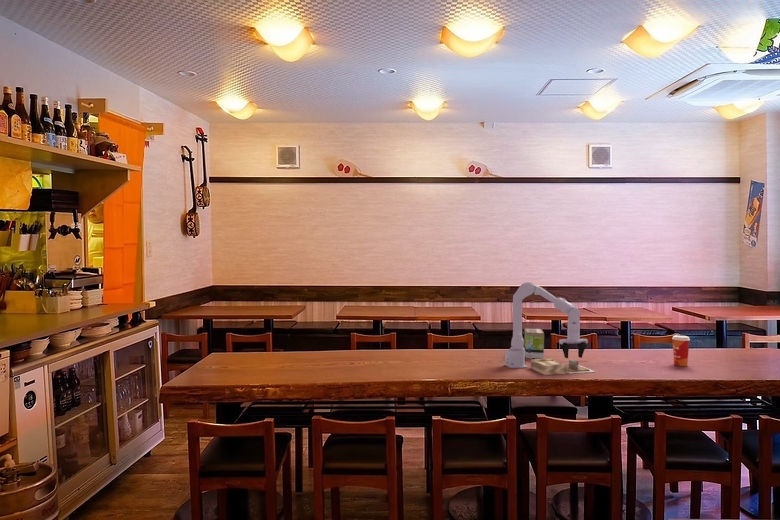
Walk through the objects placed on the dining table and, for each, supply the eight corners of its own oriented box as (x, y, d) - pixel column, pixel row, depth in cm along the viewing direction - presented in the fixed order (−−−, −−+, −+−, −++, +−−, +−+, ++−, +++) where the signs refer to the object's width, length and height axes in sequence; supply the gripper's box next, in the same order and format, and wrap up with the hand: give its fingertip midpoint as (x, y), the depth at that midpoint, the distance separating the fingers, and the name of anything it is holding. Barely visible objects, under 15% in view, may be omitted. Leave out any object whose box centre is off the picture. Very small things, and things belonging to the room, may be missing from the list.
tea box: (544, 359, 276) (544, 332, 275) (525, 358, 278) (525, 332, 277) (541, 353, 290) (541, 328, 290) (523, 353, 292) (523, 327, 292)
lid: (569, 372, 245) (569, 363, 245) (558, 366, 256) (558, 358, 256) (589, 371, 247) (589, 362, 246) (577, 365, 258) (577, 358, 257)
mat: (568, 373, 243) (568, 372, 243) (554, 367, 257) (554, 366, 257) (595, 372, 246) (595, 371, 246) (579, 365, 259) (579, 365, 259)
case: (544, 374, 241) (544, 365, 241) (530, 368, 255) (530, 359, 255) (567, 373, 243) (567, 364, 243) (552, 367, 257) (552, 358, 257)
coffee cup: (670, 362, 266) (670, 334, 266) (687, 363, 264) (688, 335, 263) (673, 366, 259) (673, 337, 258) (691, 367, 256) (691, 338, 256)
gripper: (564, 332, 246) (564, 359, 246) (591, 331, 248) (591, 358, 249) (557, 330, 253) (556, 356, 253) (583, 329, 255) (583, 355, 255)
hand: (573, 357), depth 251 cm, fingers open, 7 cm apart
